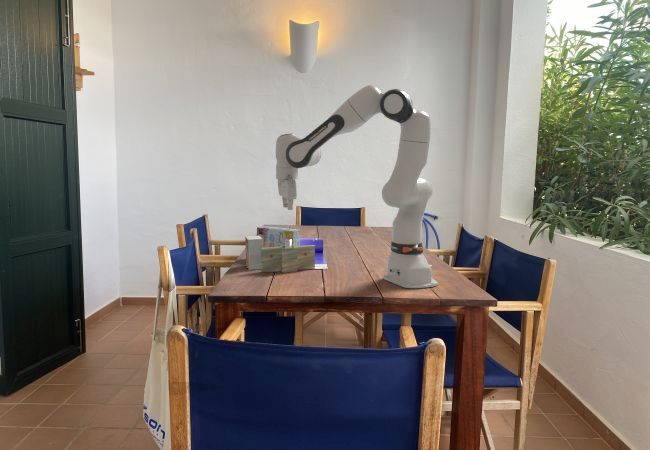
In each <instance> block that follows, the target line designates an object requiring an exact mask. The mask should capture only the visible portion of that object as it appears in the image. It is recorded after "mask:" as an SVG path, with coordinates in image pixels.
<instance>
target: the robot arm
mask: <svg viewBox="0 0 650 450" xmlns="http://www.w3.org/2000/svg"><path fill="white" fill-rule="evenodd" d="M378 114H382V115H383V116H384V117H385V118H387V119H389V120H391V121H393V122H396V123H398V124H399V125H400V136H399V141H398V143H399V144H398V148H397V149H398V151H397V158H396V162H395V165H394V167H393V170H392V173H391V175H390V177H389V179H388V180H387V182H386V183H385V184H384V185H383V186H382V190H381V197H382V200H383V202H384V203H385V204H386V205H387V206H389V207H391V208H397V209H398V212H397V214H396V215H395V218H394V219H393V221H392V234H391V237H392V238H391V239H392V241H391V242H390V251H391V253H390V255H388V257H387V262H386V271H385V272H386V273H385V274H384V275H383V276H382V279H383V280H385V281H388V282H390V283H392V284H395V285H396V286H399V287H402V288H404V289H424V288H431V287H437V286H438V285H439V282H438V281H437V280H436V279H434V278H433V277H432V275H433V274H432V271H433V265H432V264H429V262H428V260H427V258H426V256H425V255H424V246H423V242H422V228H423V225H422V224H423V220H424V215H425V212H426V208H427V205H428V202H429V200H430V199H431V197H432V195H433V187H432V184H431V183H430V181H428V179H425V178H423V177H420V175H421V173H422V170H423V169H424V168H425V166H426V165H427V164H428V163H427V162H428V156H429V149H430V143H431V142H430V141H431V129H432V128H431V118H430V116H429V114H428V113H427V112H425V111H423V110H417V109H415V108H414V106H413V100H412V99H411V96H410V95H409V94H408V93H407V92H406V91H404V90H402V89H398V88H393V89H392V88H391V89H388V90H387V91H385V92H382V91H381V89H379V88H378V87H377V86H375V85H372V84H368V85H365V86H364V87H362V88H360V89H359V90H357V91H356V92H355V93H353V94H352V95H350V97H348V98H347V99H346V100H345V101H344V102H343V103H342V104H341V105H340V106H339V107H338V108H337V109H336V110H335V111H334V112H333V113H332V114H331V115H330V116H329V117H328V118H327V119H326V120H325V121H324V122H322V123H321V124H319V126H317V127H316V128H315V129H314V130H313V131H311V132H310V133H308V135H306V136H305V137H303V138H300V137H299V136H297V134H295V133H285V134H280V135H279V136H278V137H277V138H276V141H275V142H276V143H275V159H276V166H275V179H276V180H277V188H278V195H279V197H281V199H282V207H283V208H285V209H287V210H289V211H293V205H294V200H297V196H298V195H297V193H298V192H297V181H296V180H298V179H299V169H301V168H302V169H303V168H307V167H312V166H315V165H317V164H318V163H319V162H320V160H321V159H322V158H321V157H322V152H321V147H322V146H324V145H325V144H326V143H328V142H329V141H330V140H332V139H333V138H334V137H337V136H339V135H344V134H347V133H352V132H354V131H356V130H358V129H359V128H360V127H363V125H365V124H366V123H367V122H368V121H369V120H370V119H372V118H373V117H374V116H377V115H378Z"/></svg>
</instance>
